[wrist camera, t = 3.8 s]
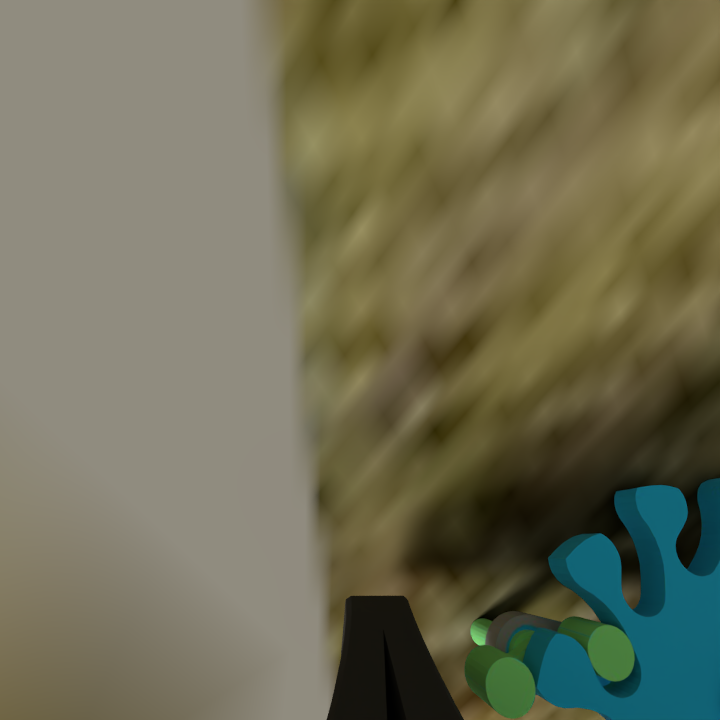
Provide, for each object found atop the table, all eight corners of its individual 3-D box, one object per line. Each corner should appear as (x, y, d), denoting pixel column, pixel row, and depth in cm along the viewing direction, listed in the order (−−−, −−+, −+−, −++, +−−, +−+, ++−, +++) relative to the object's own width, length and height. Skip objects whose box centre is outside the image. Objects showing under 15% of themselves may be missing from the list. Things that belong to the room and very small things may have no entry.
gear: (966, 527, 11) (1144, 1184, 7) (749, 534, 17) (785, 914, 13) (523, 413, 11) (465, 1035, 7) (448, 458, 16) (394, 824, 13)
